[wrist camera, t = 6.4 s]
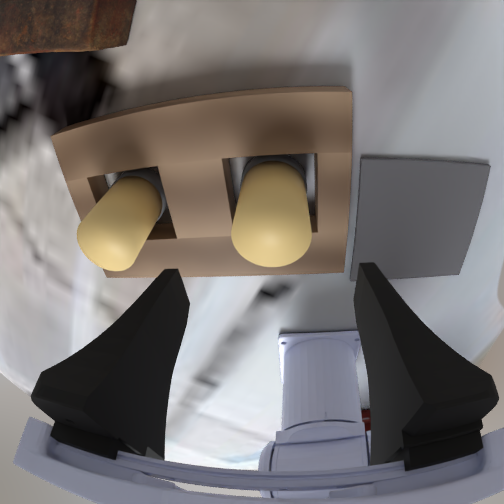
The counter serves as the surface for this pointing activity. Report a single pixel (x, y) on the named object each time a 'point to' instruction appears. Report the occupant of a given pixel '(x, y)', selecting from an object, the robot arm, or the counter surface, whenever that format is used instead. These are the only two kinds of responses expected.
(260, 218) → the yellow peg
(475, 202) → the mat
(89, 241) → the tan domed cylinder
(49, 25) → the brick
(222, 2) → the counter surface
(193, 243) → the socket board
